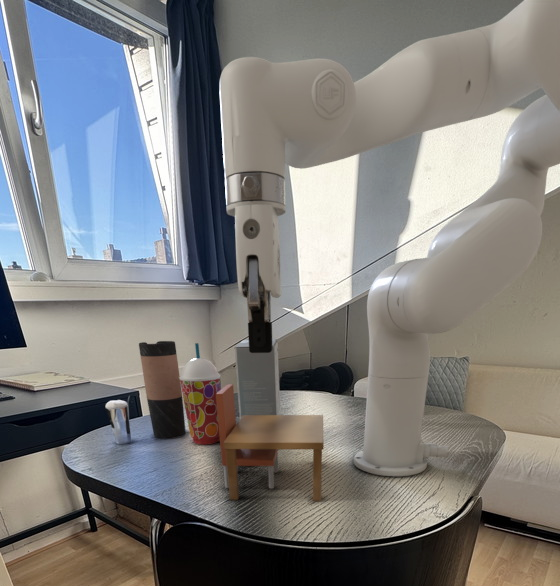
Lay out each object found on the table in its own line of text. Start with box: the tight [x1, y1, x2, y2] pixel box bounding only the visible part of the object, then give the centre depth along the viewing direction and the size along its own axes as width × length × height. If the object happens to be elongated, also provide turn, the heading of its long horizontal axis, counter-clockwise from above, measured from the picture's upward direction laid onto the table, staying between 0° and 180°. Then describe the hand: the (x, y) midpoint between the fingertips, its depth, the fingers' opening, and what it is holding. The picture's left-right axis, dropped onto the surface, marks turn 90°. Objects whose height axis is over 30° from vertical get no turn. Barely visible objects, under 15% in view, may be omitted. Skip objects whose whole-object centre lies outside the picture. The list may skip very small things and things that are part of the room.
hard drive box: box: [234, 338, 282, 420], centre depth 86 cm, size 16×8×20 cm, turn 178°
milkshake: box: [105, 395, 132, 445], centre depth 88 cm, size 4×5×10 cm
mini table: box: [224, 414, 325, 502], centre depth 66 cm, size 14×16×9 cm
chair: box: [216, 383, 279, 489], centre depth 65 cm, size 8×8×15 cm
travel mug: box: [138, 340, 186, 440], centre depth 91 cm, size 8×8×20 cm
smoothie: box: [179, 342, 222, 445], centre depth 85 cm, size 8×8×20 cm
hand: (261, 352), depth 59 cm, fingers closed
